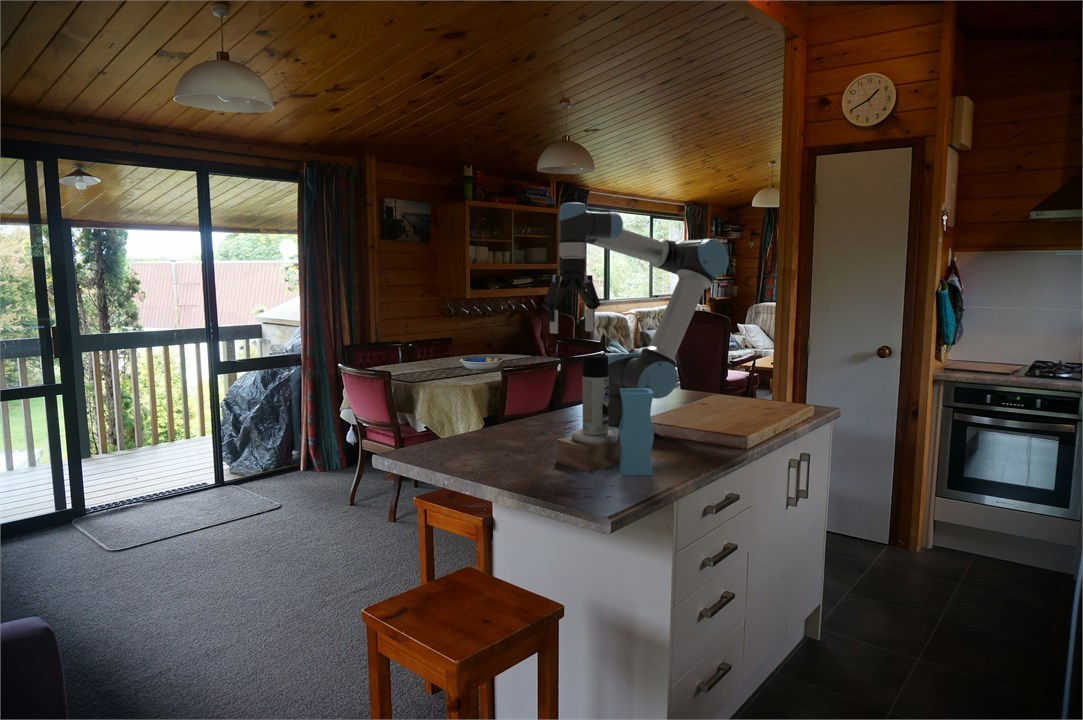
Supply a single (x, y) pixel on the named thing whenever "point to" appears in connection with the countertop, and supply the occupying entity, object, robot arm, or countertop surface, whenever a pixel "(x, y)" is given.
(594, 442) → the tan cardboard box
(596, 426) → the spray can
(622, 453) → the vase
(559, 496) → the countertop surface
